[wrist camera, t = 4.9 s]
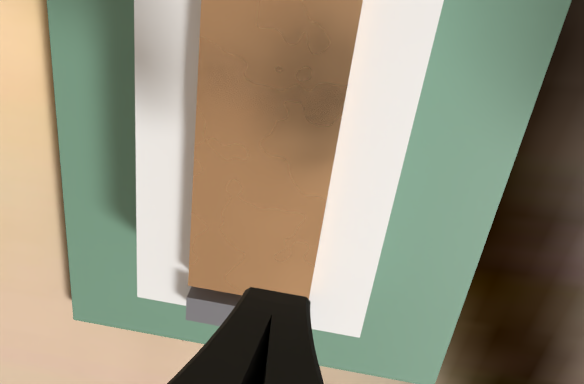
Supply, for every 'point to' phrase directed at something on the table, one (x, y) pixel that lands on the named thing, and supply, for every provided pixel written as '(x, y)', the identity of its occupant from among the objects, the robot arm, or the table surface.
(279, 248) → the strip
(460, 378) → the table surface
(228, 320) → the robot arm
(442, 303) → the board
